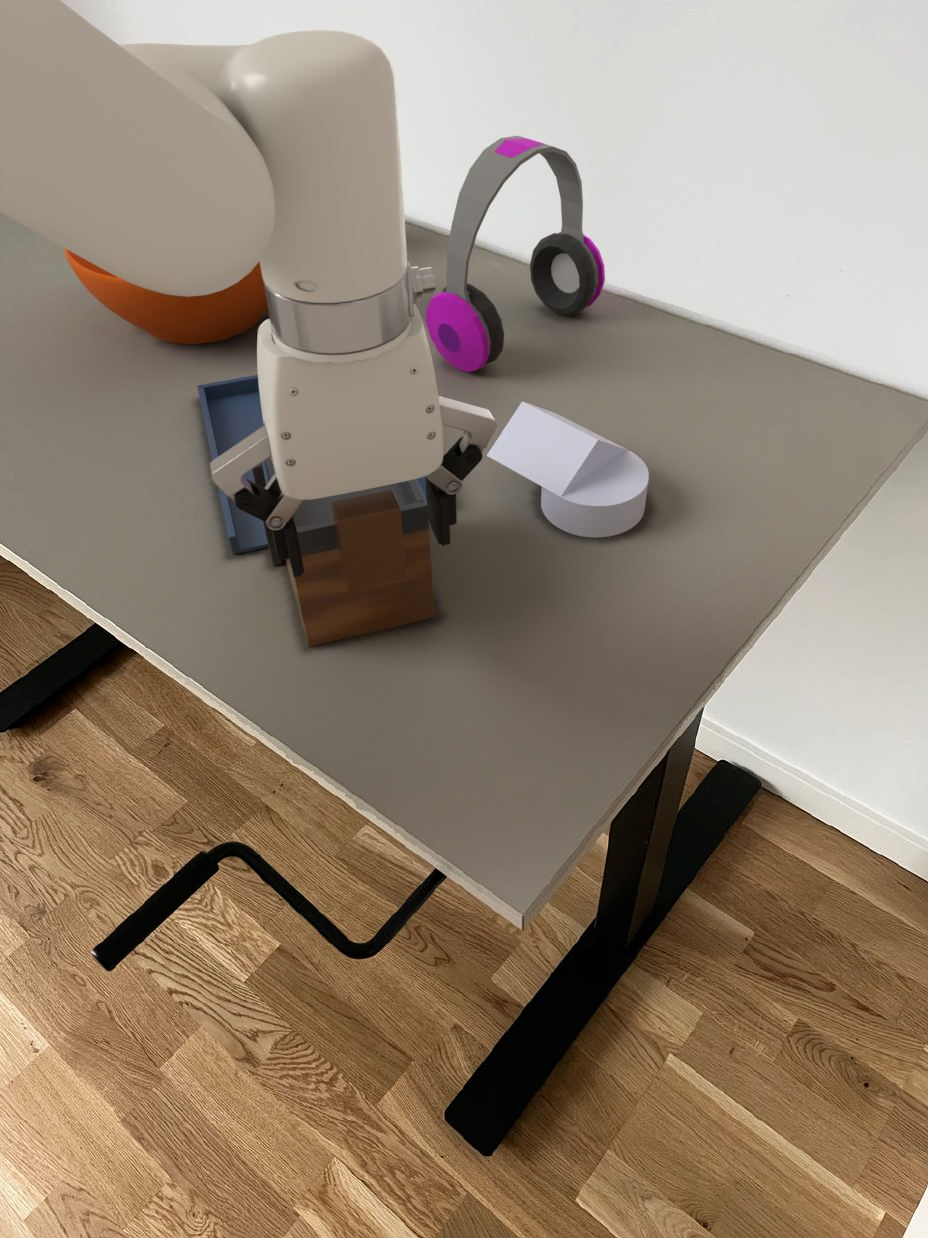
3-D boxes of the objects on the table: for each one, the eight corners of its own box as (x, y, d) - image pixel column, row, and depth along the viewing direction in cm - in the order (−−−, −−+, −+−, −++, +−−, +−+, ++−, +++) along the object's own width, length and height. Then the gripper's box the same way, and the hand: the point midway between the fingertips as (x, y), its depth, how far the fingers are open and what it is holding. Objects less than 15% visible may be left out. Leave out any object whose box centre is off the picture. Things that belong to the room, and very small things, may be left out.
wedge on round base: (486, 486, 88) (599, 552, 82) (486, 422, 83) (605, 487, 77) (553, 443, 93) (665, 502, 86) (556, 380, 88) (675, 438, 81)
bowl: (60, 372, 104) (28, 282, 97) (125, 264, 122) (102, 181, 114) (297, 371, 103) (282, 280, 96) (327, 262, 121) (317, 178, 113)
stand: (448, 614, 77) (443, 514, 70) (294, 650, 75) (272, 550, 67) (409, 520, 85) (401, 422, 78) (269, 549, 83) (247, 451, 76)
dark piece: (450, 578, 66) (447, 498, 62) (304, 611, 65) (289, 531, 60) (389, 435, 78) (381, 358, 73) (264, 460, 76) (248, 382, 72)
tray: (441, 511, 86) (440, 493, 85) (232, 555, 82) (228, 537, 81) (376, 369, 103) (375, 353, 101) (201, 401, 99) (197, 385, 98)
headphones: (548, 290, 114) (555, 104, 100) (609, 314, 110) (625, 123, 95) (420, 360, 104) (407, 164, 90) (480, 390, 99) (477, 189, 85)
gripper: (473, 249, 56) (477, 488, 69) (168, 297, 53) (228, 539, 65) (516, 309, 51) (511, 556, 63) (181, 366, 48) (244, 614, 60)
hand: (368, 547), depth 64 cm, fingers open, 9 cm apart
